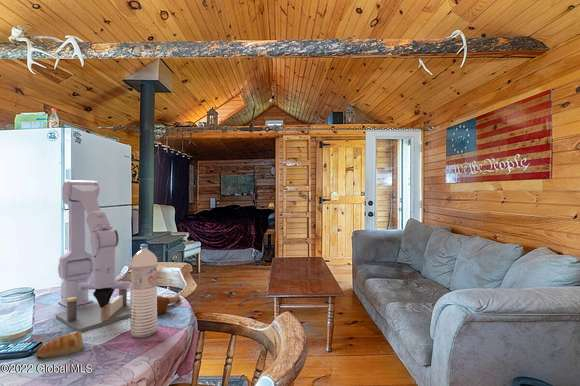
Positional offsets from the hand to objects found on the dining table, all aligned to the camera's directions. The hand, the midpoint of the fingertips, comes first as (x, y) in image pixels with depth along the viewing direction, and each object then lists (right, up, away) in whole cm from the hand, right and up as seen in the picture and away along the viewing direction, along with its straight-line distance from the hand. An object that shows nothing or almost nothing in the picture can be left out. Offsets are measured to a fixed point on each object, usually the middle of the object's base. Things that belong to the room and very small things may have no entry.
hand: (104, 312), depth 99 cm
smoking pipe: (+14, -3, +12) cm, 18 cm away
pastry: (+1, -3, -19) cm, 19 cm away
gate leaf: (+1, -1, +2) cm, 3 cm away
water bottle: (+16, -3, -9) cm, 19 cm away
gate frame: (-4, -2, +4) cm, 6 cm away
